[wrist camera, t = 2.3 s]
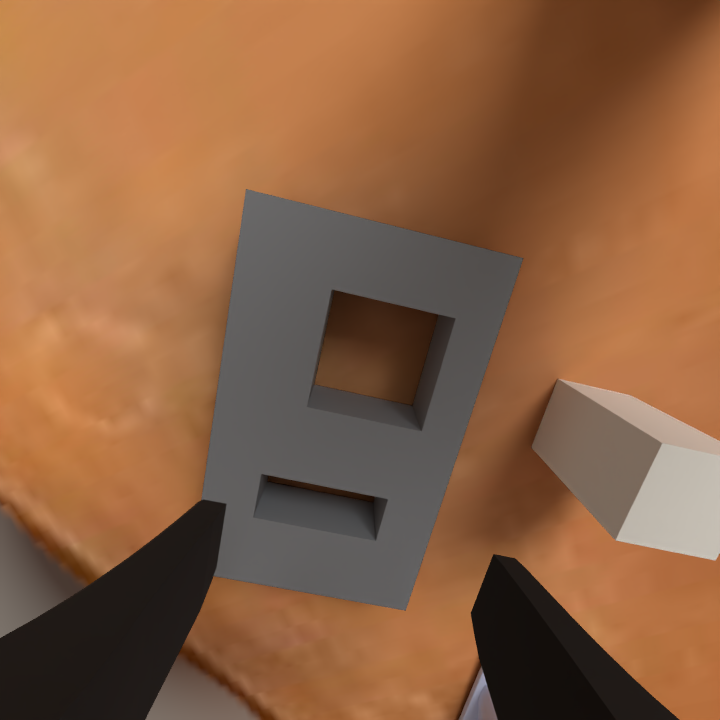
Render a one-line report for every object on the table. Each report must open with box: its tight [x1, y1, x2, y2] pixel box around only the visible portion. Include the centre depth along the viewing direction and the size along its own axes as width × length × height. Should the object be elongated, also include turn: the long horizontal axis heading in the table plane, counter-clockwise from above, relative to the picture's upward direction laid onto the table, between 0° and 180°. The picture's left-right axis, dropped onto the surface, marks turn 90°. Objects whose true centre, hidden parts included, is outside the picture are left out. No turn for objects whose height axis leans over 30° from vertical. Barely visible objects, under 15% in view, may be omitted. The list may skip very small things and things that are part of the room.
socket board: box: [202, 189, 523, 611], centre depth 19 cm, size 18×11×3 cm, turn 167°
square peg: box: [531, 379, 720, 560], centre depth 17 cm, size 4×4×7 cm
